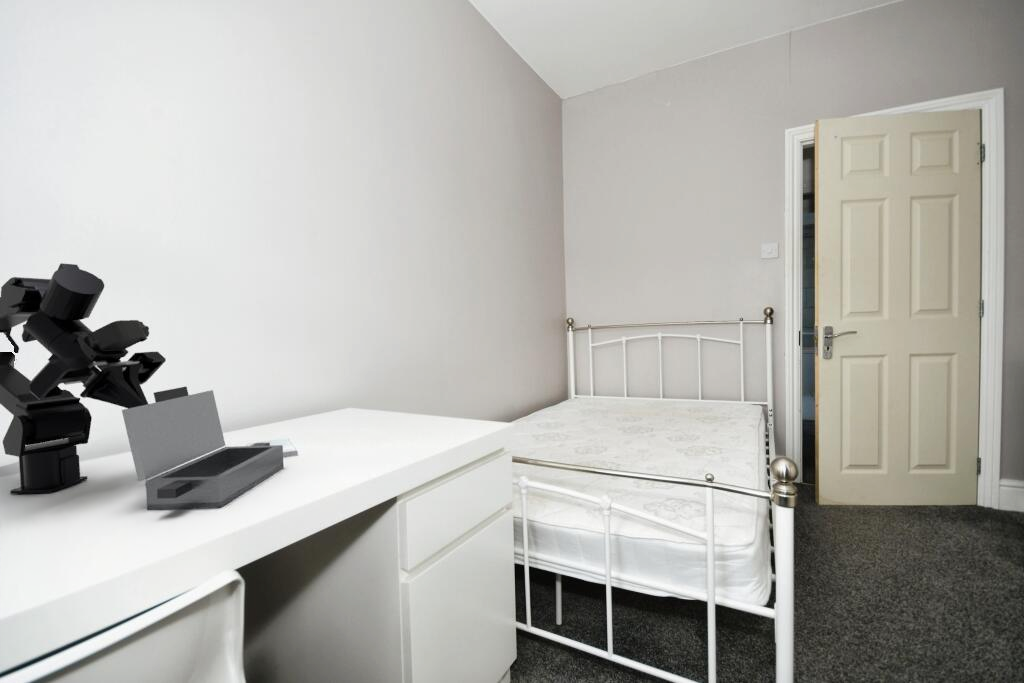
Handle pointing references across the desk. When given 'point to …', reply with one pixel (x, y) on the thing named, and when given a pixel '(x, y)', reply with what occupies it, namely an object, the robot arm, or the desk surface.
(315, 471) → the desk surface
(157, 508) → the grey hinged box
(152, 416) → the box lid
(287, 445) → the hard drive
